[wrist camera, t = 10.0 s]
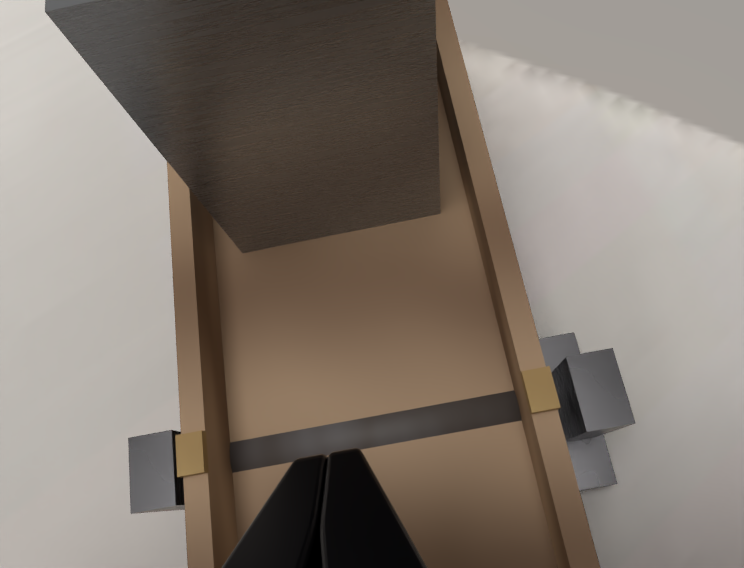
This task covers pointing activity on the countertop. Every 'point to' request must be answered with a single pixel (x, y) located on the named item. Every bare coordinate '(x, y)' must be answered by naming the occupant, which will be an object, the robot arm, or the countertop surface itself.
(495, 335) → the beam
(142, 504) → the stand
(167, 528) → the countertop surface
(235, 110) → the steel block
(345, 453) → the robot arm
